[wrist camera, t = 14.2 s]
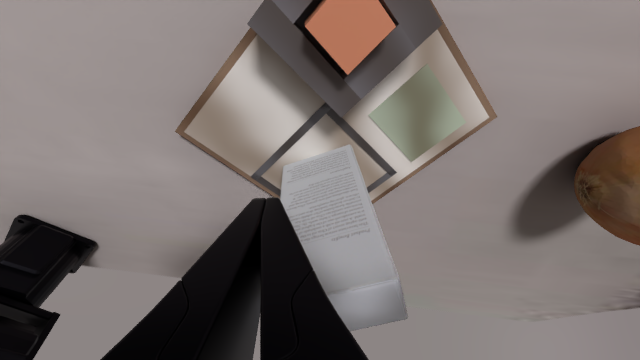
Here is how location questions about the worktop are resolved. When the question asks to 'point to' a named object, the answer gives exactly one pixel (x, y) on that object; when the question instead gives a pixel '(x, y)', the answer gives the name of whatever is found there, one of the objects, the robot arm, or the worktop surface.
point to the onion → (613, 185)
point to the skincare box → (343, 238)
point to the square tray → (338, 98)
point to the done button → (349, 29)
